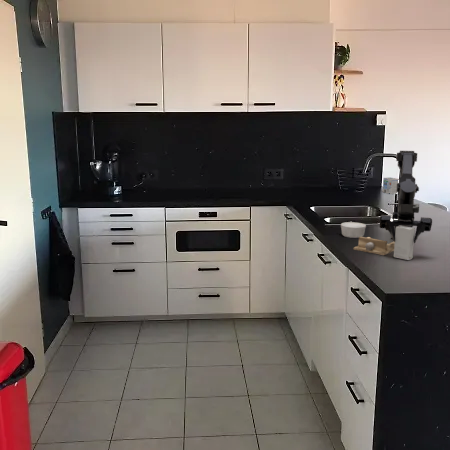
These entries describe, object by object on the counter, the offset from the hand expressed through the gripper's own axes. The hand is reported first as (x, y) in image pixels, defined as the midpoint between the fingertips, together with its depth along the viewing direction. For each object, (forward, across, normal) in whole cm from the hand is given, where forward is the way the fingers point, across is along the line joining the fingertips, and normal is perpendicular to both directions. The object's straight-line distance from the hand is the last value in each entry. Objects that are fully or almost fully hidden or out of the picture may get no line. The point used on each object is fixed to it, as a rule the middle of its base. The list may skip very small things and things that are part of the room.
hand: (404, 241), depth 190 cm
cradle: (-4, -10, +14) cm, 18 cm away
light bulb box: (-124, -3, +137) cm, 185 cm away
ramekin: (-19, -21, +30) cm, 41 cm away
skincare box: (+4, 0, +6) cm, 7 cm away
